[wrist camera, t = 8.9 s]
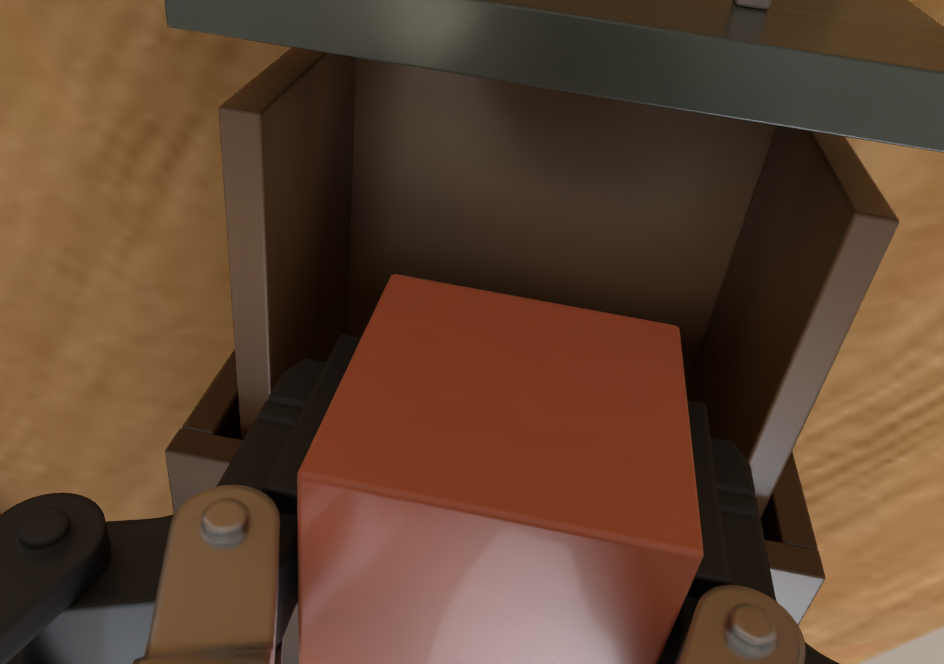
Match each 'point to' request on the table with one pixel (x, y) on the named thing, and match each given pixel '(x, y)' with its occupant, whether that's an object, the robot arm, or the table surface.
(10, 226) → the table surface
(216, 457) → the cabinet
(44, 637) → the robot arm
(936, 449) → the table surface
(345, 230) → the drawer
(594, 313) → the block
